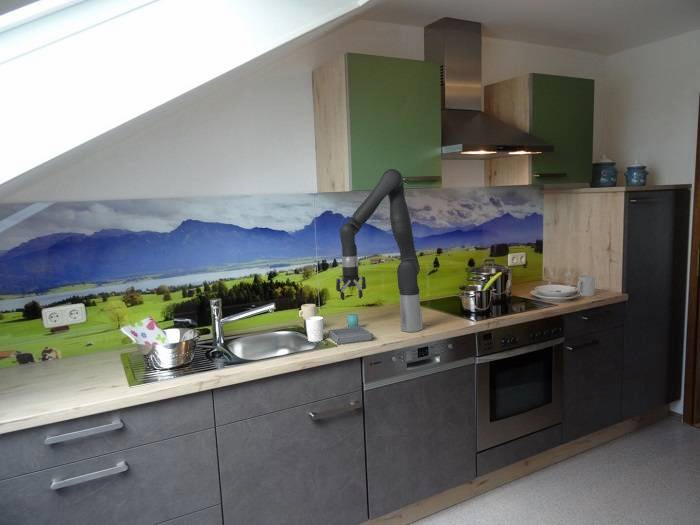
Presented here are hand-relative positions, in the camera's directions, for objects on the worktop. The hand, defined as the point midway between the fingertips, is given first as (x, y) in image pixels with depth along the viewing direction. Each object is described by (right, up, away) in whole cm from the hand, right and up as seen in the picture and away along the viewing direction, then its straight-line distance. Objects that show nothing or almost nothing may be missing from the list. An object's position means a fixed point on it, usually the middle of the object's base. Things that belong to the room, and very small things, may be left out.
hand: (351, 298), depth 242 cm
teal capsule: (+1, -15, +2) cm, 15 cm away
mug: (+137, -2, +54) cm, 147 cm away
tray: (-1, -17, -14) cm, 22 cm away
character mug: (-20, -16, +2) cm, 26 cm away
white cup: (-16, -18, -14) cm, 28 cm away
